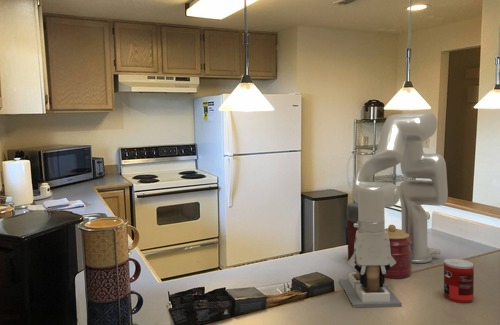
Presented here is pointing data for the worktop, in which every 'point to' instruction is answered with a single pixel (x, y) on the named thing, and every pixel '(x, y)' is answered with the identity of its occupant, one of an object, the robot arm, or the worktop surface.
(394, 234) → the canister
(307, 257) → the worktop surface
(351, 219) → the red square jar
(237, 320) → the worktop surface
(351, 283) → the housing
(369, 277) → the loose peg
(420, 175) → the robot arm
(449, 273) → the canned food
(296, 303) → the worktop surface
